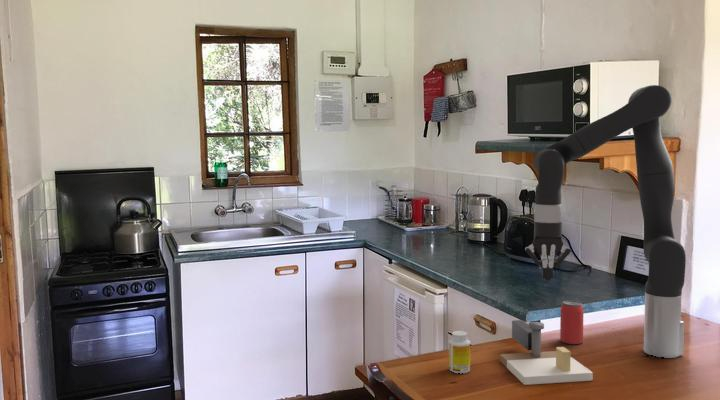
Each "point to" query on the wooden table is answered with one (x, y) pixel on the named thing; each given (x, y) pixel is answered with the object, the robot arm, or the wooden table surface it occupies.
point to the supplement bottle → (459, 352)
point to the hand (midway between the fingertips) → (547, 280)
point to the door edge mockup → (545, 363)
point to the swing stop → (522, 333)
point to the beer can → (571, 322)
